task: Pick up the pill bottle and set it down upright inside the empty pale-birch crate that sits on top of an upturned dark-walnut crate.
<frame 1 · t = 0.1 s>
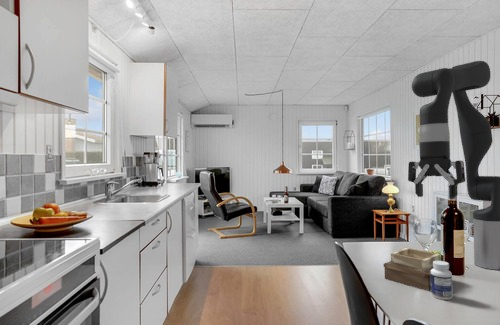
hand: (435, 197, 91), 29 cm above the table, fingers open, 8 cm apart
pill bottle: (441, 297, 93), on the table
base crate: (415, 279, 106), on the table
top crate: (415, 264, 106), resting on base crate
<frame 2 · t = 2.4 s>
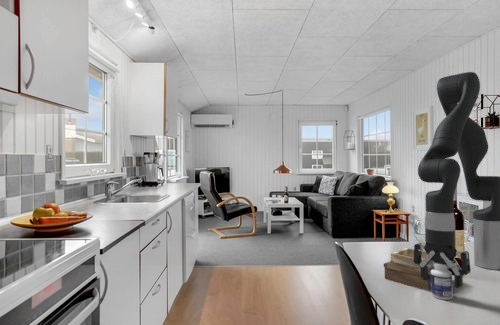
hand: (440, 283, 92), 4 cm above the table, fingers open, 8 cm apart
nothing on the table moved.
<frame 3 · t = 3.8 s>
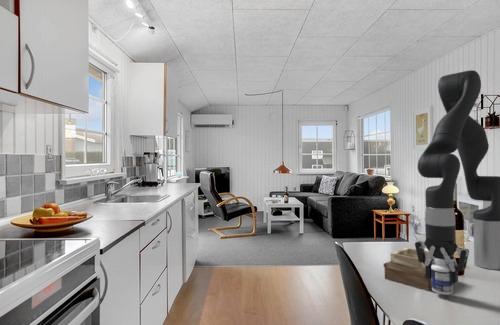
hand: (441, 280, 93), 5 cm above the table, fingers closed on pill bottle, 5 cm apart
pill bottle: (442, 291, 93), point 1 cm above the table, touching gripper
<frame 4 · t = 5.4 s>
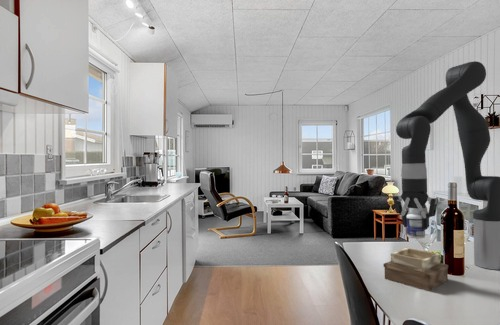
hand: (415, 227, 106), 17 cm above the table, fingers closed on pill bottle, 5 cm apart
pill bottle: (416, 237, 106), point 14 cm above the table, touching gripper
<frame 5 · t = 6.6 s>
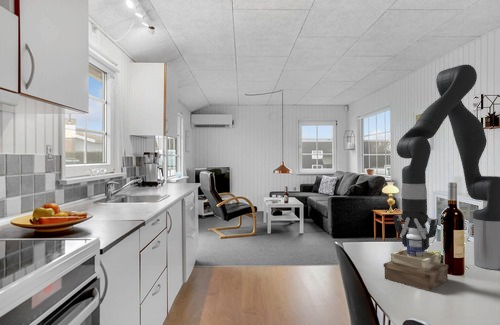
hand: (415, 247, 106), 11 cm above the table, fingers closed on pill bottle, 5 cm apart
pill bottle: (415, 257, 106), point 7 cm above the table, touching gripper
when the fingers open (10 cm above the table, at t = 7.5 s): pill bottle drops 1 cm, resting on top crate.
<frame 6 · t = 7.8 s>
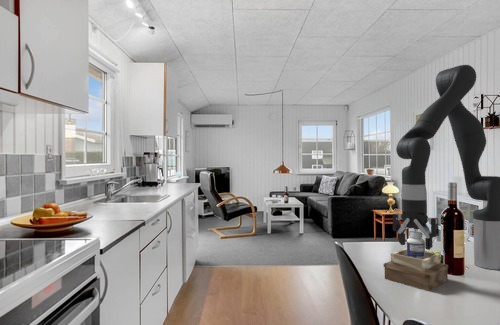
hand: (415, 246, 106), 11 cm above the table, fingers open, 8 cm apart
pill bottle: (416, 262, 106), point 6 cm above the table, touching top crate
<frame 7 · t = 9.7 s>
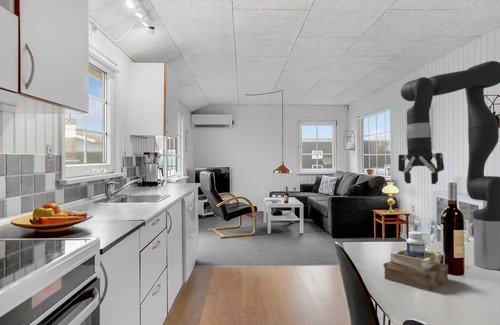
hand: (420, 183, 111), 31 cm above the table, fingers open, 8 cm apart
nothing on the table moved.
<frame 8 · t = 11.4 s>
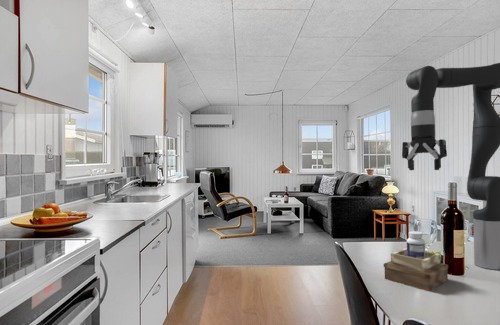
hand: (423, 170, 113), 36 cm above the table, fingers open, 8 cm apart
nothing on the table moved.
at the end: pill bottle inside the target area on the top crate (0.3 cm from its centre), point 0.6 cm above the top crate's base; pill bottle tilted 0°; the gripper is holding nothing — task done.
